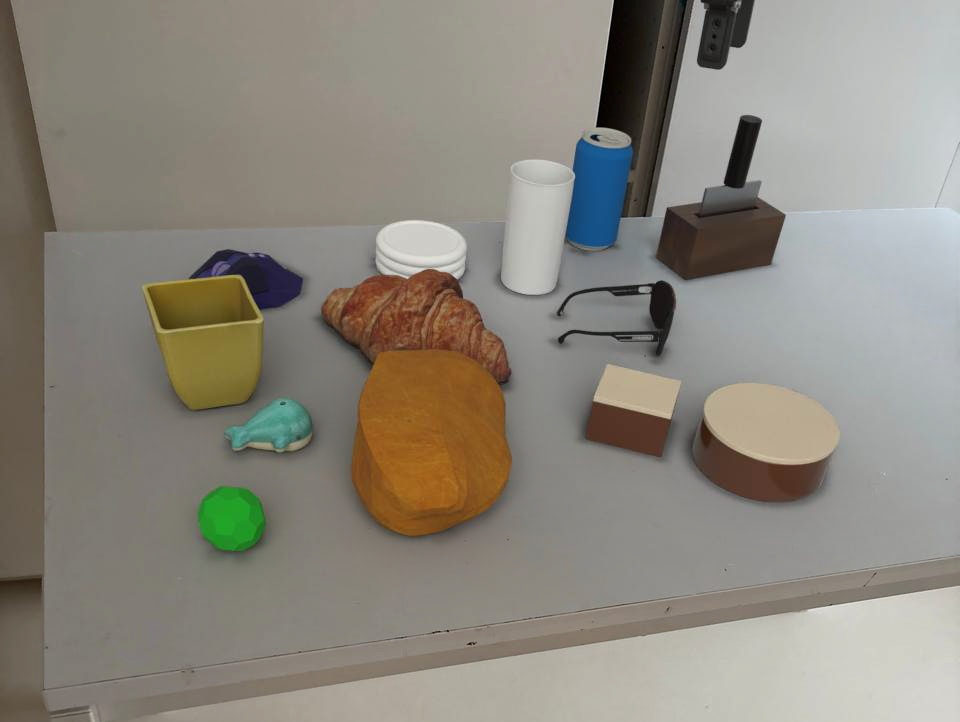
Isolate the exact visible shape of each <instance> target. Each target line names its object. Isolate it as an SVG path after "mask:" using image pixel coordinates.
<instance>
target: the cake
mask: <svg viewBox="0 0 960 722" xmlns="http://www.w3.org/2000/svg"><path fill="white" fill-rule="evenodd" d="M840 437H841V430H840V427H839V424H838V422H837V421H836V419H835V417H834V416H833V415H832V414H831V413H830V412H829V411H828V409H826V408H825V407H824V406H823V405H821V404H820V403H818V402H817V401H816V400H813V399H812V398H810V397H809V396H806V395H805V394H802V393H800V392H797V391H795V390H792V389H790V388H786V387H783V386H778V385H775V384H769V383H763V382H762V383H761V382H739V383H732V384H729V385H724V386H722V387H719V388H717V389H716V390H714V391H713V392H711V394H709V396H707V398H706V400H705V402H704V404H703V408H702V411H701V415H700V418H699V421H698V426H697V428H696V432H695V436H694V439H693V443H692V446H691V447H692V448H691V453H692V457H693V461H694V463H695V465H696V466H697V468H698V469H699V470H700V472H701V473H702V475H704V476H705V477H706V478H707V479H708V480H710V481H711V482H712V483H713V484H715V485H717V486H719V487H720V488H722V489H724V490H725V491H728V492H730V493H732V494H735V495H736V496H740V497H743V498H747V499H750V500H754V501H760V502H768V503H787V502H795V501H798V500H799V501H800V500H802V499H805V498H807V497H809V496H811V495H812V494H814V493H815V492H817V490H819V488H820V487H821V485H822V483H823V481H824V478H825V476H826V473H827V470H828V469H829V466H830V464H831V462H832V459H833V457H834V454H835V452H836V449H837V447H838V444H839V443H840Z"/></svg>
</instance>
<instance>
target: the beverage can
mask: <svg viewBox="0 0 960 722" xmlns="http://www.w3.org/2000/svg"><path fill="white" fill-rule="evenodd" d="M633 155H634V151H633V147H632V138H631V136H629V135H628V134H627V133H625V132H623V131H620V130H617V129H614V128H608V127H590V128H586V129H584V130H583V131H581V137H580V138H579V139H578V141H577V142H576V144H575V150H574V158H573V164H572V169H571V170H572V171H573V172H574V174H575V179H574V186H573V193H572V199H571V205H570V211H569V216H568V222H567V228H566V233H565V239H566V240H568V242H569V243H570V244H571V245H572V246H573V247H575V248H577V249H581V250H582V251H583V250H584V251H588V252H589V251H590V252H591V251H592V252H598V251H603V250H606V249H608V248H609V247H610V246H612V245H614V244H615V243H616V242H617V239H618V235H619V229H620V225H621V219H622V213H623V209H624V203H625V197H626V193H627V192H626V191H627V186H628V181H629V177H630V171H631V165H632V160H633Z"/></svg>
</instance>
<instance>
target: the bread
mask: <svg viewBox="0 0 960 722" xmlns="http://www.w3.org/2000/svg"><path fill="white" fill-rule="evenodd" d="M506 407H507V403H506V399H505V395H504V391H503V390H502V387H501V386H500V384H498V383H497V381H496V380H495V379H494V377H493V376H492V375H491V374H490V373H489V372H488V371H487V370H486V369H485V368H484V367H483V366H481V365H480V364H479V363H478V362H477V361H475V360H473V359H471V358H469V357H467V356H465V355H463V354H461V353H459V352H457V351H448V350H439V349H423V350H393V351H387V352H382V353H379V354H378V356H377V358H376V361H375V363H374V365H373V364H372V368H371V370H370V373H369V374H368V377H367V378H366V380H365V383H364V385H363V388H362V390H361V392H360V395H359V399H358V402H357V423H356V429H355V433H354V434H355V435H354V442H353V446H352V452H351V453H352V454H351V461H350V463H351V465H350V472H351V481H352V485H353V487H354V489H355V492H356V495H357V496H358V498H359V499H360V501H361V502H362V504H363V506H364V507H365V508H366V510H367V511H368V513H369V514H370V516H371V517H372V518H373V519H374V520H375V521H376V522H377V523H378V524H379V526H381V527H383V528H385V529H388V530H390V531H392V532H394V533H398V534H402V535H404V536H407V537H408V536H409V537H410V536H411V537H417V536H426V535H427V536H428V535H432V534H436V533H442V532H444V531H446V530H447V529H448V528H453V527H456V526H458V525H460V524H463V523H465V522H468V521H470V520H473V519H474V518H476V517H478V516H479V515H481V514H483V513H484V512H485V511H487V510H489V509H490V507H491V506H493V504H495V502H497V500H498V499H499V498H500V496H501V494H502V493H503V491H504V489H505V487H506V486H507V483H508V481H509V478H510V473H511V470H512V463H513V456H512V453H511V449H510V447H509V446H510V445H509V442H508V440H507V436H506V416H507V414H506Z"/></svg>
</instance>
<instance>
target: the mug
mask: <svg viewBox="0 0 960 722" xmlns="http://www.w3.org/2000/svg"><path fill="white" fill-rule="evenodd" d="M509 169H510V170H509V179H508V189H507V201H506V212H505V225H504V236H503V247H502V257H501V258H502V260H501V272H500V273H501V274H500V280H501V283H502V284H503V285H504V287H506V288H507V289H508V290H510V291H512V292H515V293H519V294H522V295H528V296H540V295H541V296H542V295H545V294H548V293H551V292H553V291H554V290H555V289H556V287H557V284H558V278H559V272H560V267H561V261H562V256H563V249H564V245H565V239H566V237H565V233H566V228H567V222H568V216H569V211H570V205H571V199H572V193H573V186H574V179H575V174H574V172H573V171H572V170H573V169H572V168H570V167H568V166H567V165H564V164H562V163H559V162H557V161H552V160H547V159H538V158H537V159H536V158H534V159H533V158H532V159H531V158H530V159H524V160H523V159H522V160H519V161H516V162H514V163H513V164H512V165H511V166H510V168H509Z"/></svg>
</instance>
